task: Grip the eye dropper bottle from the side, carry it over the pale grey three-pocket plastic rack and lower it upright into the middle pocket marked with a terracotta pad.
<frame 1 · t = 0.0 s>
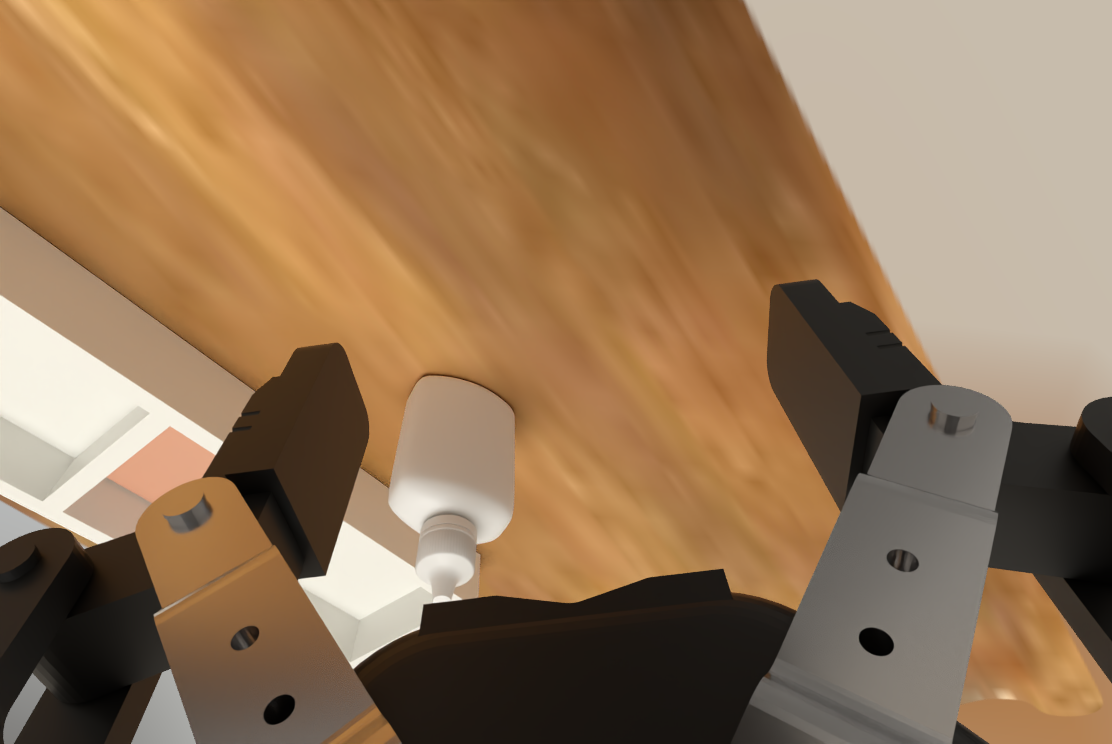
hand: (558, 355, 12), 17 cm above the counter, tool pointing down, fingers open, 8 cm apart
rack: (223, 463, 37), on the counter
eye dropper bottle: (462, 401, 35), on the counter
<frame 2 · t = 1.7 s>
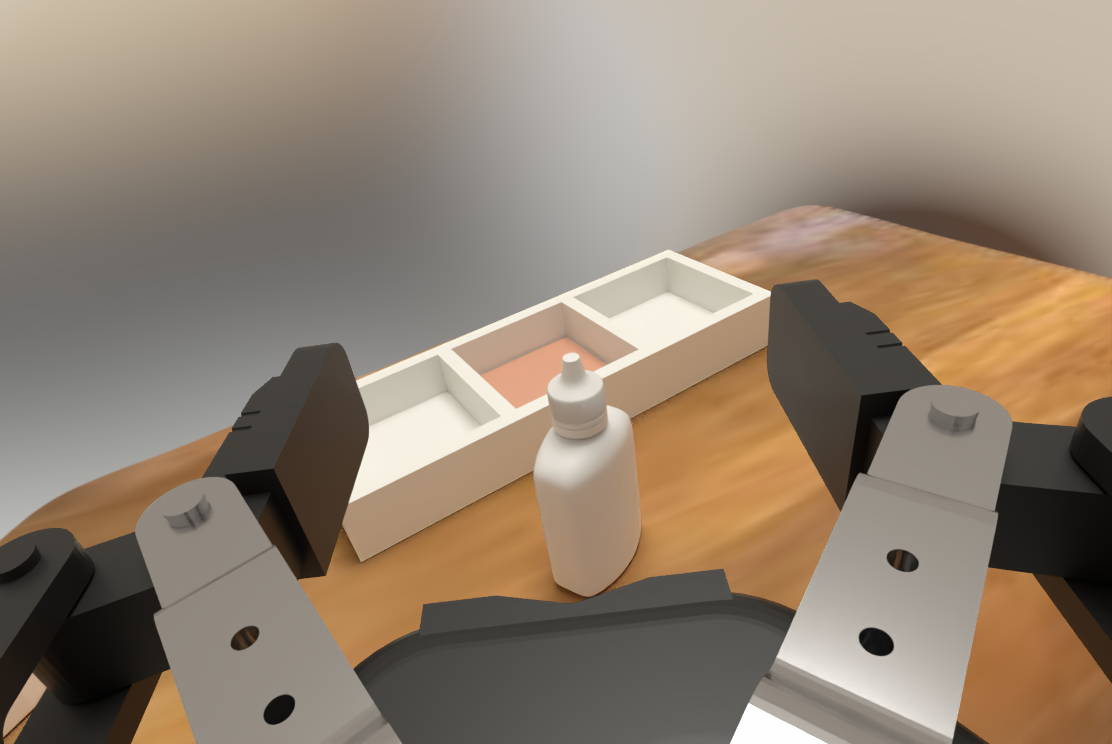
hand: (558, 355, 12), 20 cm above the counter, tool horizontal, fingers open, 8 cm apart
rack: (550, 398, 45), on the counter
eye dropper bottle: (599, 557, 33), on the counter
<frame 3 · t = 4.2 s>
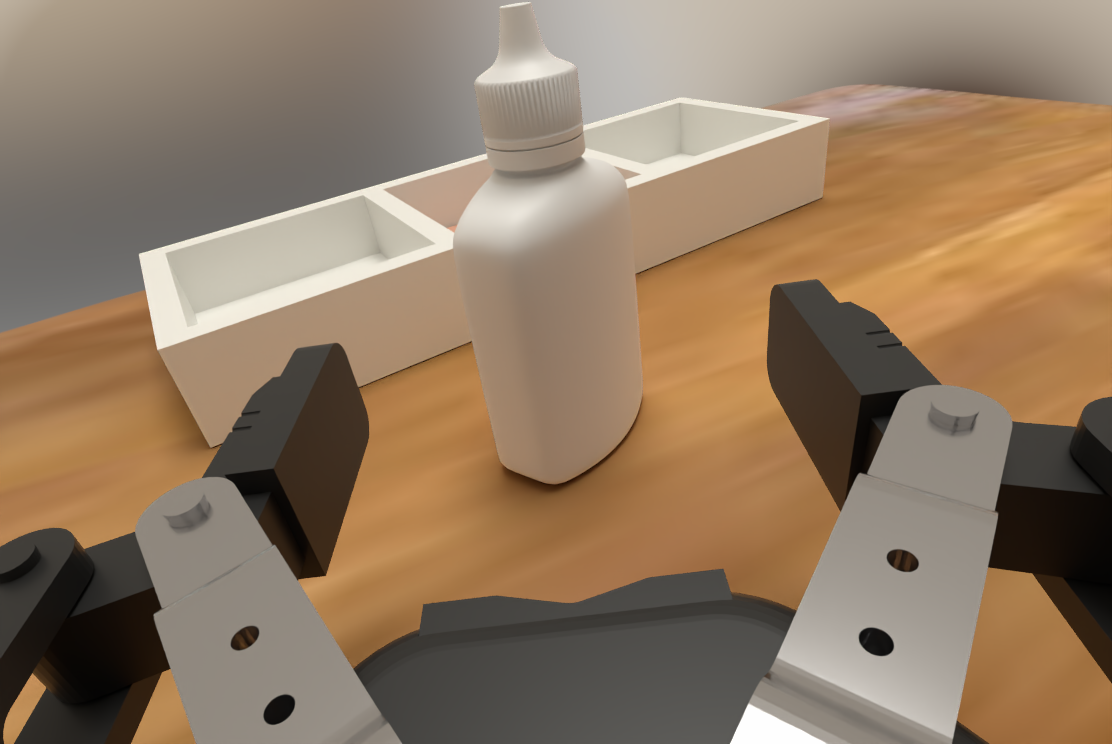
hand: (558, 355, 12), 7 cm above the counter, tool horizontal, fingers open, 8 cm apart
rack: (519, 261, 33), on the counter
eye dropper bottle: (576, 434, 21), on the counter
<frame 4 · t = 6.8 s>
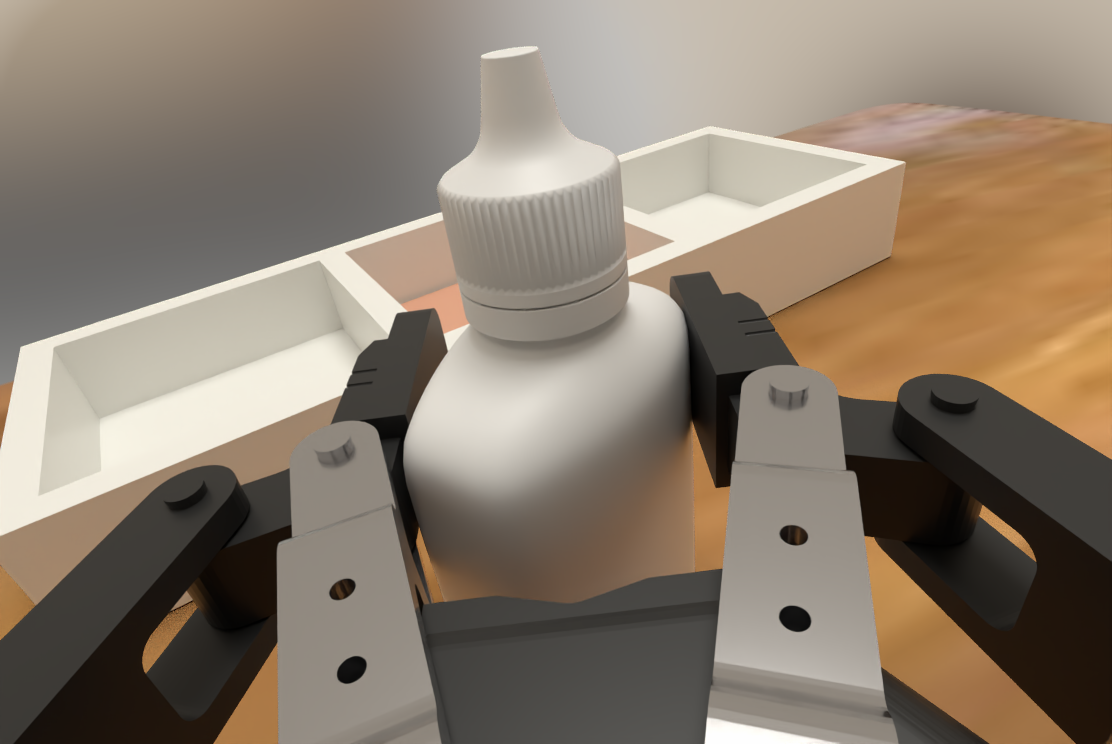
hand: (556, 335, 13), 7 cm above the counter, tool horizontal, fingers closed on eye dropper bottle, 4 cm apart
rack: (516, 340, 26), on the counter
eye dropper bottle: (600, 657, 14), on the counter, touching gripper
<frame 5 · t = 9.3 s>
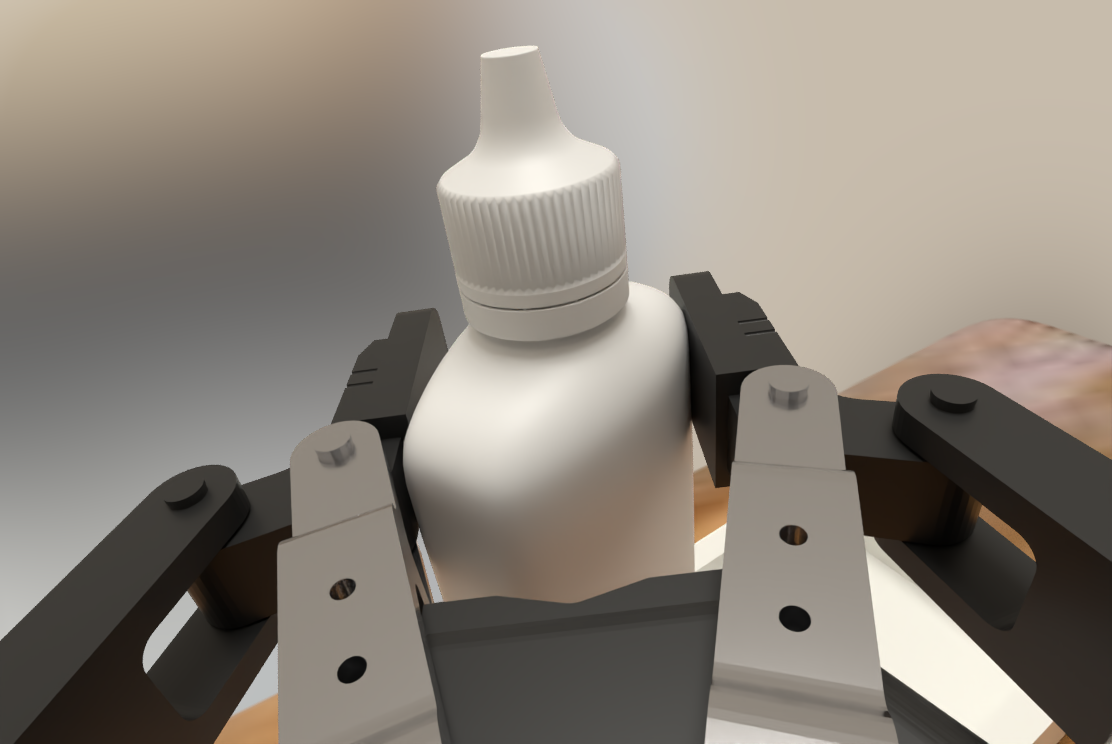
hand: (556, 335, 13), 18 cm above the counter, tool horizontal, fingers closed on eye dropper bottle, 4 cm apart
eye dropper bottle: (600, 657, 14), point 11 cm above the counter, touching gripper
when the fingers open (9 cm above the counter, at t = 12.1 s): eye dropper bottle stays where it is, resting on rack.
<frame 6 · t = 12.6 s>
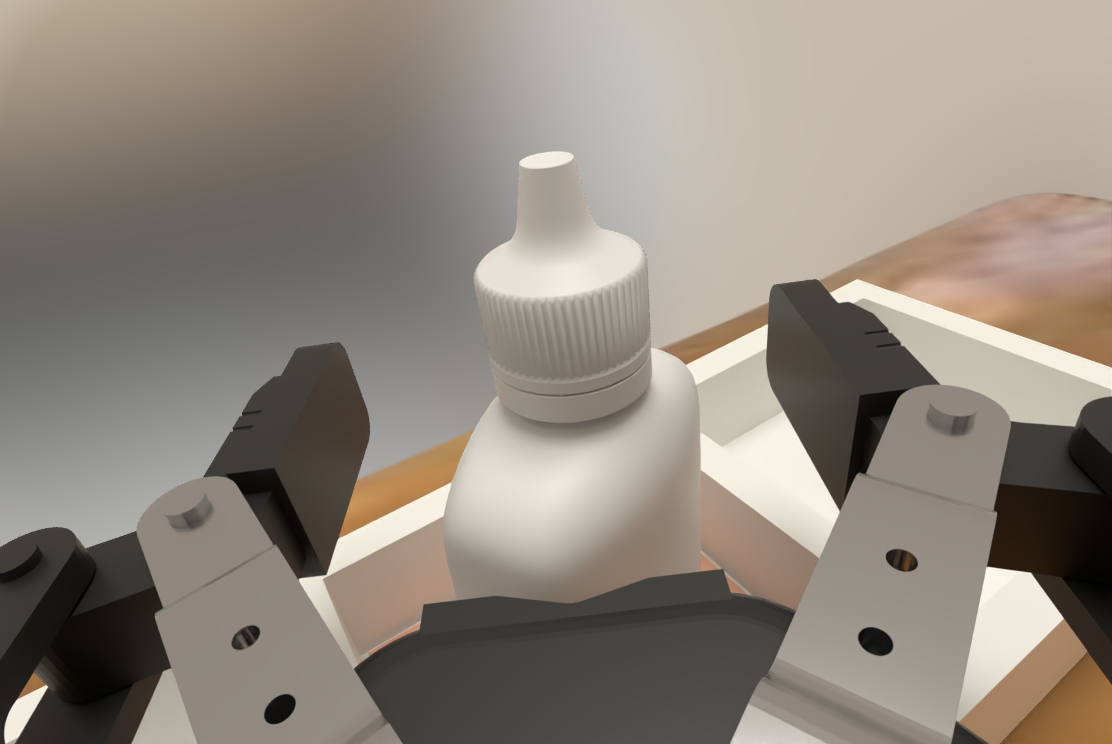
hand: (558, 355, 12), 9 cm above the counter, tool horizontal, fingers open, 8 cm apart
rack: (609, 714, 16), on the counter
eye dropper bottle: (613, 696, 15), point 1 cm above the counter, touching rack
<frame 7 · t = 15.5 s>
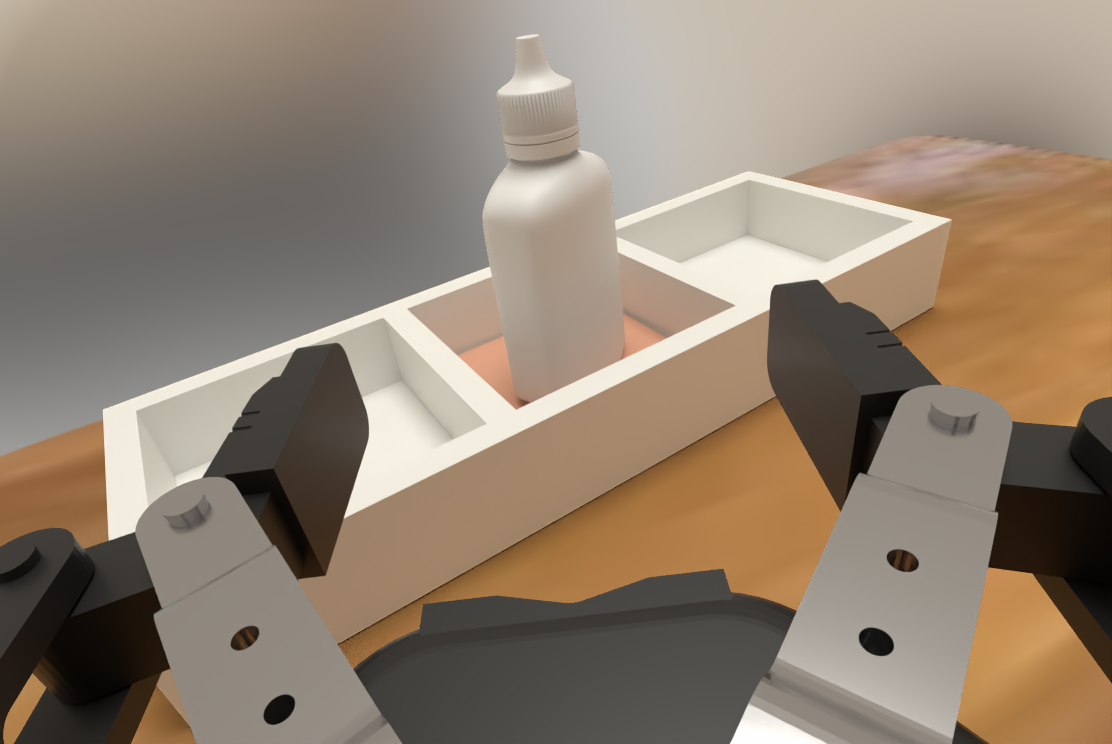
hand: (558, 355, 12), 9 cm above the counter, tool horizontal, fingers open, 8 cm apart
rack: (572, 393, 27), on the counter
eye dropper bottle: (574, 374, 26), point 1 cm above the counter, touching rack
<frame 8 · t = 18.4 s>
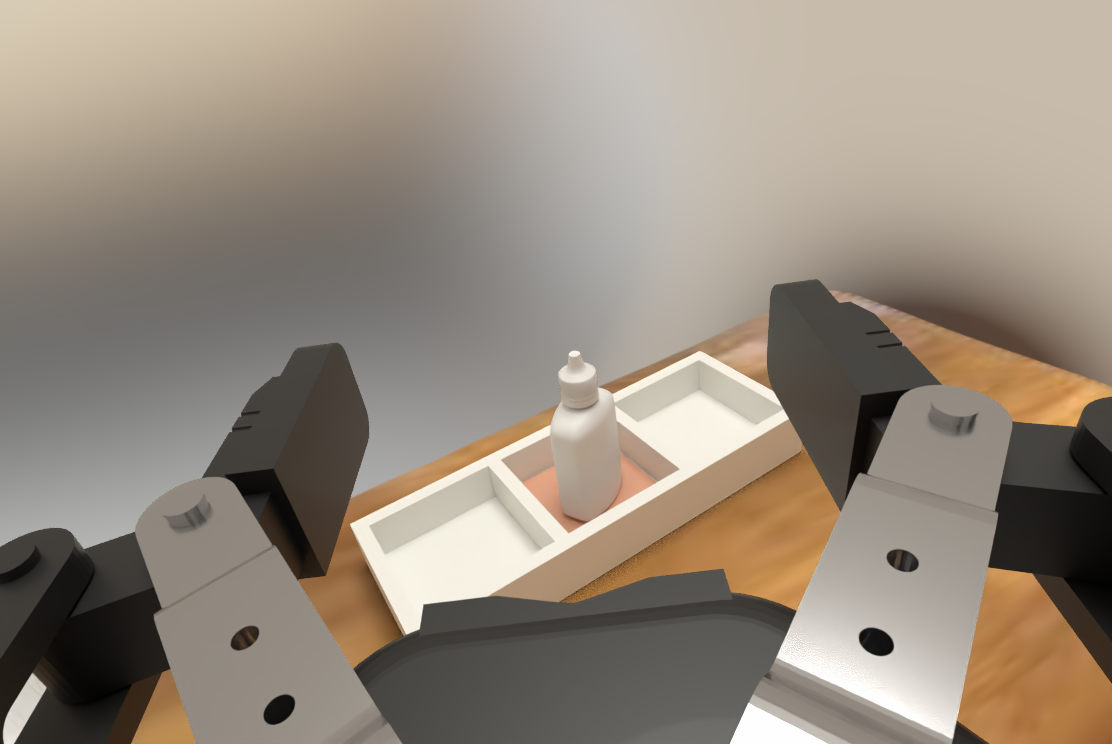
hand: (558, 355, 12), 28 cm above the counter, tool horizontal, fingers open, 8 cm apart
rack: (592, 505, 48), on the counter
eye dropper bottle: (593, 496, 47), point 1 cm above the counter, touching rack
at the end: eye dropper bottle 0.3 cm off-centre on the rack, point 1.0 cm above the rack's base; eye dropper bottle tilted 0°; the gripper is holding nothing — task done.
